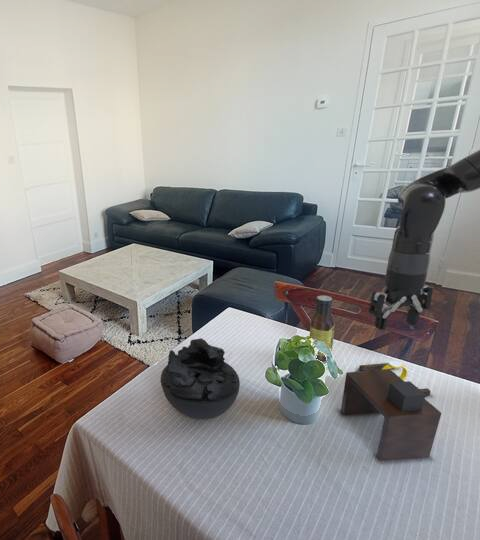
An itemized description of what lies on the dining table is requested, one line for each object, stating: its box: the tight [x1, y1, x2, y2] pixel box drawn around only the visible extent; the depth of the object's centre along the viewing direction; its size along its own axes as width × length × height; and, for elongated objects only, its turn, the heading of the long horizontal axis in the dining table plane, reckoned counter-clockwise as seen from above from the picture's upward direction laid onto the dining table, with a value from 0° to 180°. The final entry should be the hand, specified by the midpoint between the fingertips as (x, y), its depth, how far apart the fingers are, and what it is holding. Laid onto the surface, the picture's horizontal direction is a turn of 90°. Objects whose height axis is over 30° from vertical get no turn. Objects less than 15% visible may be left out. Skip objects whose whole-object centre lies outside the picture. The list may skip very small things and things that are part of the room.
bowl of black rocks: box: [160, 337, 241, 420], centre depth 87 cm, size 20×20×19 cm
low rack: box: [358, 362, 432, 397], centre depth 91 cm, size 10×12×2 cm
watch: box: [382, 360, 408, 381], centre depth 91 cm, size 6×3×6 cm, turn 87°
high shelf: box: [340, 369, 442, 462], centre depth 75 cm, size 10×14×12 cm
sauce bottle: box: [309, 294, 336, 361], centre depth 102 cm, size 7×6×20 cm
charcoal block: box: [387, 380, 426, 412], centre depth 69 cm, size 4×4×4 cm
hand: (395, 326), depth 86 cm, fingers open, 8 cm apart
